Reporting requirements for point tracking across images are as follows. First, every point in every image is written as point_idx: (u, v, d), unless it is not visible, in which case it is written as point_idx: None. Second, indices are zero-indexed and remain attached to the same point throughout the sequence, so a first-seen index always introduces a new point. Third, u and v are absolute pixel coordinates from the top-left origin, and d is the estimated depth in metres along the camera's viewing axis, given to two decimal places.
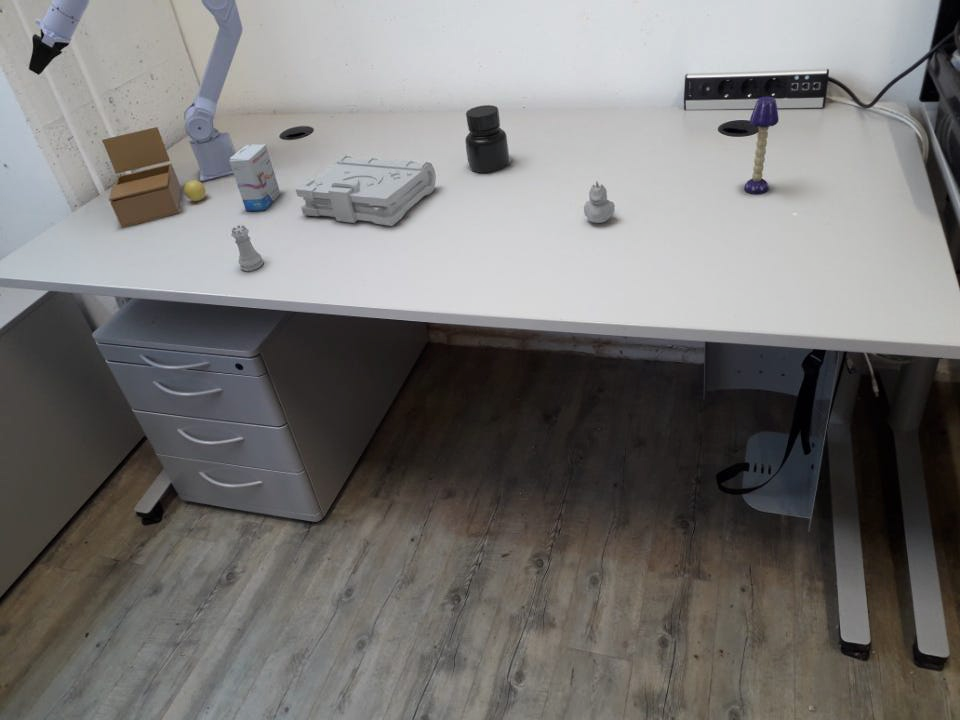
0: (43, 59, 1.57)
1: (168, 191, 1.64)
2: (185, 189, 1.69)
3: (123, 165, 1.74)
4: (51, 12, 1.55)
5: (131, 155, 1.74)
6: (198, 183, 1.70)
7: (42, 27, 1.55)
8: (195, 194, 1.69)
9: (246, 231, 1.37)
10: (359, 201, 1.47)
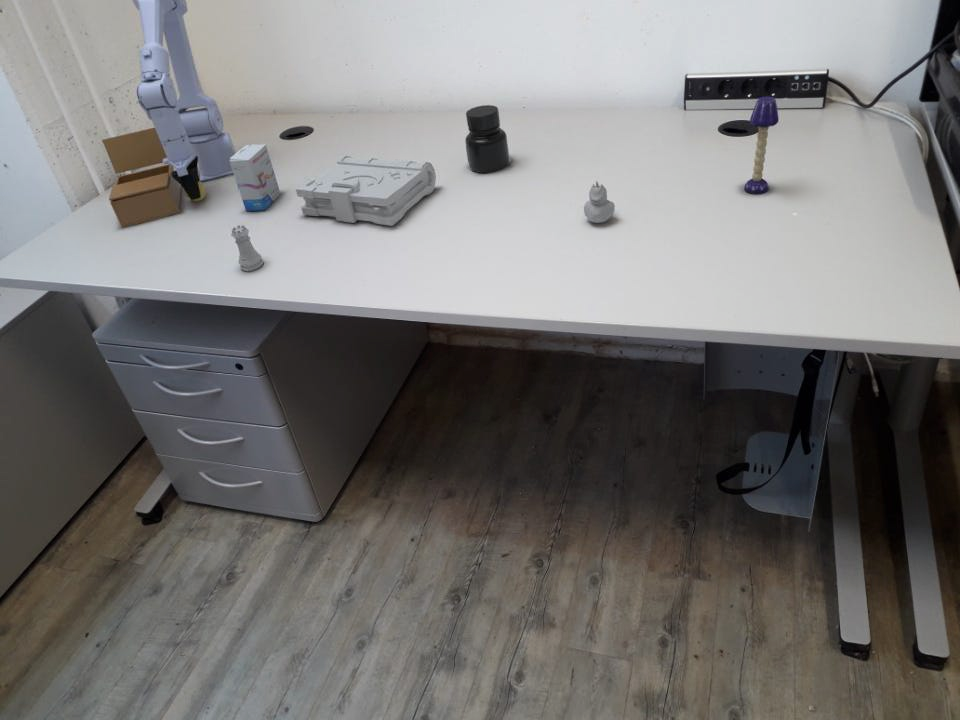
0: (192, 184, 1.67)
1: (168, 191, 1.64)
2: None
3: (123, 165, 1.74)
4: (165, 147, 1.62)
5: (131, 155, 1.74)
6: (198, 183, 1.70)
7: (171, 164, 1.63)
8: None
9: (246, 231, 1.37)
10: (359, 201, 1.47)
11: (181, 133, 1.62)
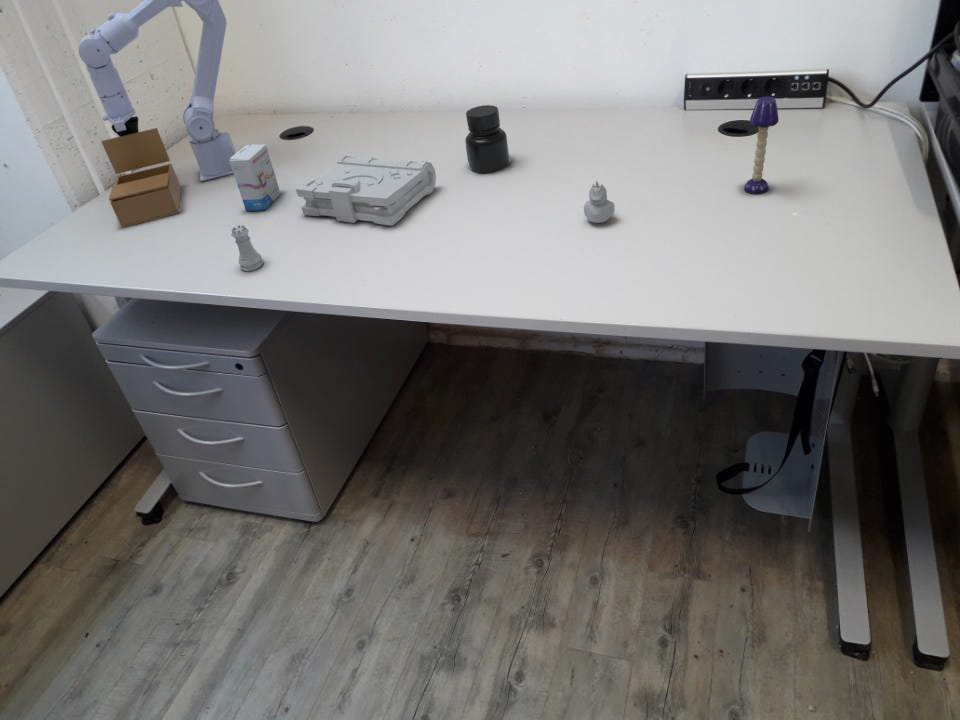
0: None
1: (168, 191, 1.64)
2: None
3: (123, 165, 1.74)
4: (104, 103, 1.66)
5: (131, 156, 1.73)
6: None
7: (110, 120, 1.67)
8: None
9: (246, 231, 1.37)
10: (359, 201, 1.47)
11: (105, 93, 1.64)
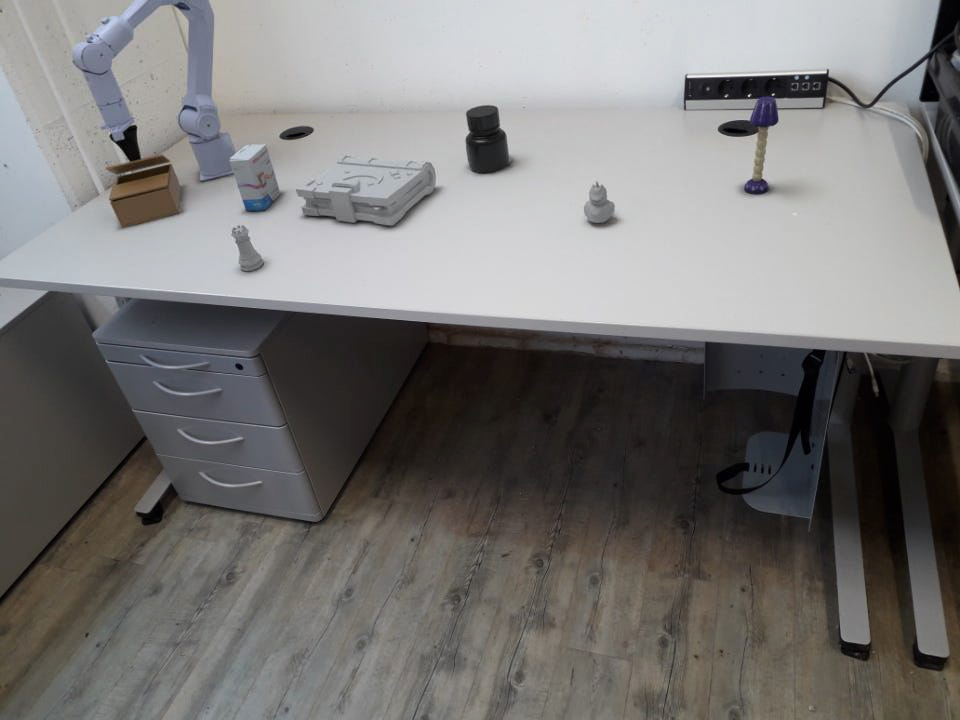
0: (131, 147, 1.67)
1: (168, 191, 1.64)
2: None
3: (124, 171, 1.73)
4: (101, 112, 1.61)
5: (133, 167, 1.72)
6: None
7: (108, 129, 1.62)
8: None
9: (246, 231, 1.37)
10: (359, 201, 1.47)
11: (108, 101, 1.59)
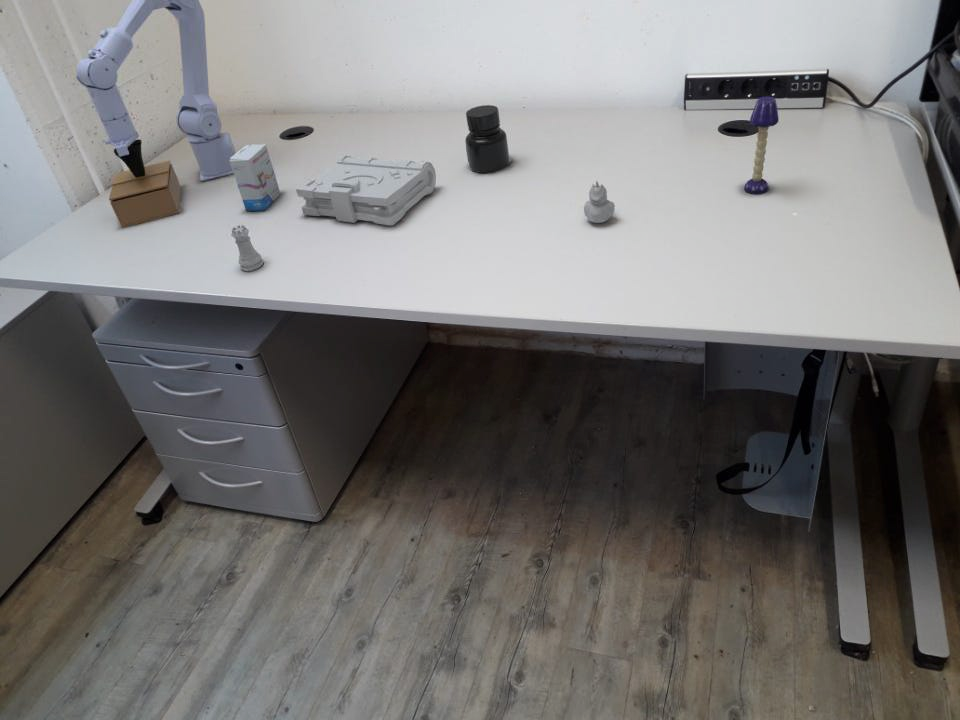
0: (136, 161, 1.67)
1: (168, 191, 1.64)
2: None
3: None
4: (106, 127, 1.61)
5: None
6: None
7: (112, 144, 1.62)
8: None
9: (246, 231, 1.37)
10: (359, 201, 1.47)
11: (114, 116, 1.59)
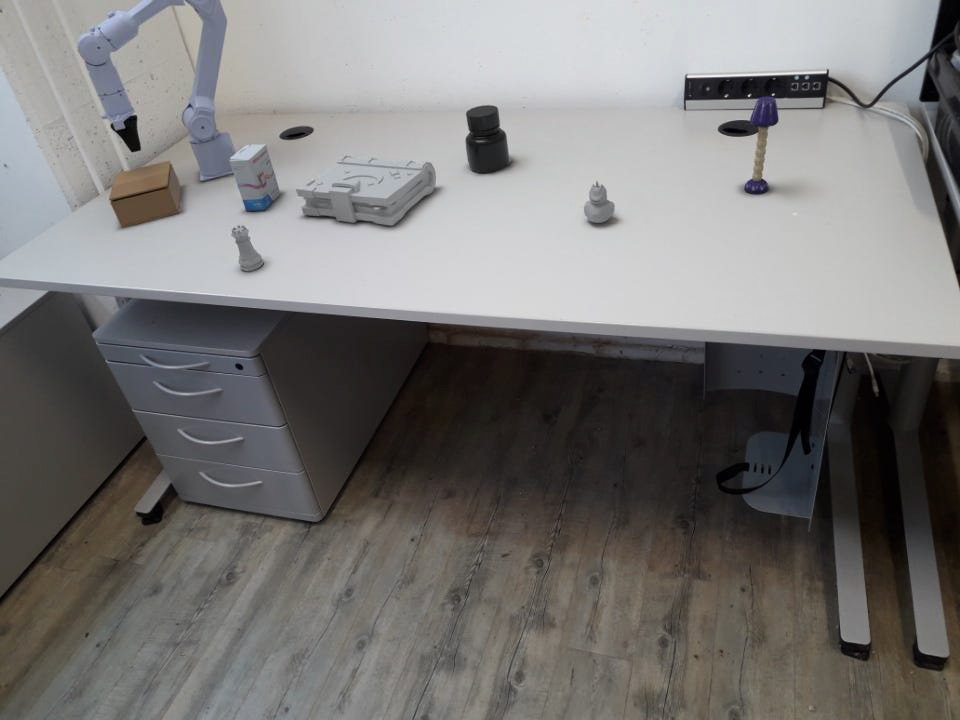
0: (132, 136, 1.71)
1: (168, 191, 1.64)
2: None
3: None
4: (102, 101, 1.65)
5: None
6: None
7: (108, 118, 1.66)
8: None
9: (246, 231, 1.37)
10: (359, 201, 1.47)
11: (105, 91, 1.63)
